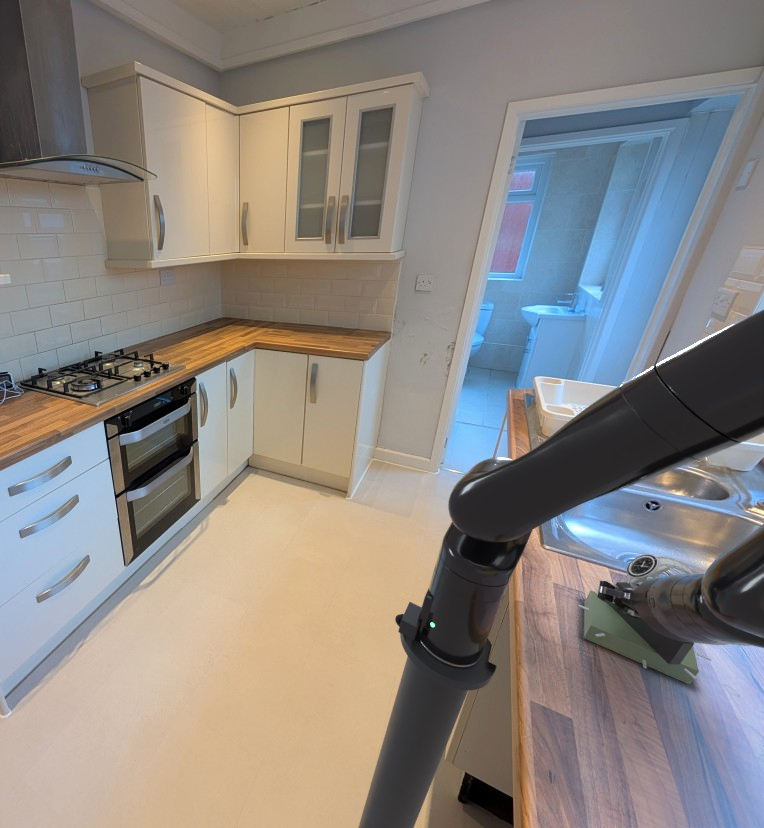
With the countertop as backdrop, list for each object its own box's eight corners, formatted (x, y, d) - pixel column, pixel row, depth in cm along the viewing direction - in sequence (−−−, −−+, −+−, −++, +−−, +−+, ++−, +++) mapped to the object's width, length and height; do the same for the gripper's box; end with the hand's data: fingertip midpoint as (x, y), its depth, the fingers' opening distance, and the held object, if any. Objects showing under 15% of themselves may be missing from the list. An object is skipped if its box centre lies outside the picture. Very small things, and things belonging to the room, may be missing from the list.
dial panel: (570, 651, 66) (577, 637, 65) (572, 590, 77) (579, 577, 76) (711, 715, 57) (723, 701, 56) (691, 637, 68) (701, 623, 67)
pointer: (606, 601, 71) (617, 580, 69) (615, 601, 71) (627, 580, 69) (668, 664, 61) (684, 642, 59) (679, 664, 61) (695, 642, 59)
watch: (608, 589, 77) (633, 542, 72) (668, 608, 73) (699, 560, 69) (615, 612, 73) (642, 563, 68) (679, 633, 69) (713, 583, 64)
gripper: (776, 602, 48) (692, 604, 63) (623, 555, 55) (579, 567, 69) (771, 670, 46) (685, 656, 61) (613, 613, 53) (570, 613, 68)
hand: (629, 609), depth 65 cm, fingers closed
